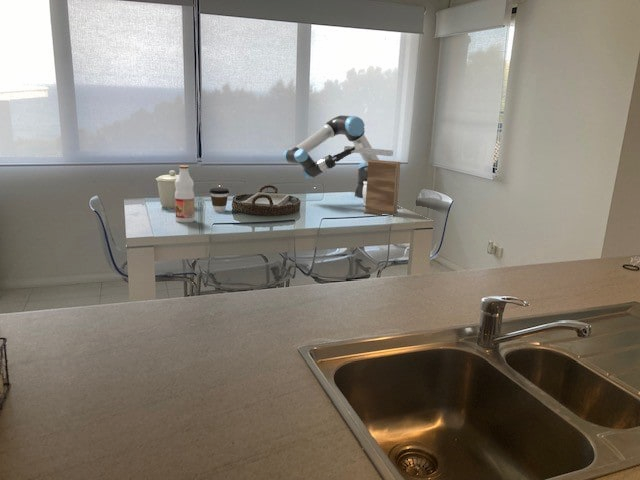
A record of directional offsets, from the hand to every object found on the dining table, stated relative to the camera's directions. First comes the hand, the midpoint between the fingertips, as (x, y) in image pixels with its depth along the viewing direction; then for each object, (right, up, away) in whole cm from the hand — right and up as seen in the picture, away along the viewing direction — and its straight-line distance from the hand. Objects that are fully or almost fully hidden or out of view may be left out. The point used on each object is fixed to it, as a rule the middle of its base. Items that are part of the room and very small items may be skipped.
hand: (361, 145), depth 306 cm
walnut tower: (+12, -39, +5) cm, 41 cm away
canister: (-107, -36, -2) cm, 113 cm away
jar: (+8, -33, +27) cm, 43 cm away
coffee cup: (-80, -38, -7) cm, 89 cm away
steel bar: (+4, -5, 0) cm, 6 cm away
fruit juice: (-92, -45, -35) cm, 109 cm away
